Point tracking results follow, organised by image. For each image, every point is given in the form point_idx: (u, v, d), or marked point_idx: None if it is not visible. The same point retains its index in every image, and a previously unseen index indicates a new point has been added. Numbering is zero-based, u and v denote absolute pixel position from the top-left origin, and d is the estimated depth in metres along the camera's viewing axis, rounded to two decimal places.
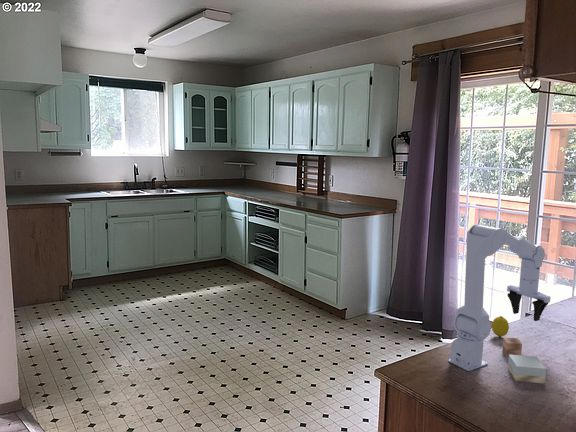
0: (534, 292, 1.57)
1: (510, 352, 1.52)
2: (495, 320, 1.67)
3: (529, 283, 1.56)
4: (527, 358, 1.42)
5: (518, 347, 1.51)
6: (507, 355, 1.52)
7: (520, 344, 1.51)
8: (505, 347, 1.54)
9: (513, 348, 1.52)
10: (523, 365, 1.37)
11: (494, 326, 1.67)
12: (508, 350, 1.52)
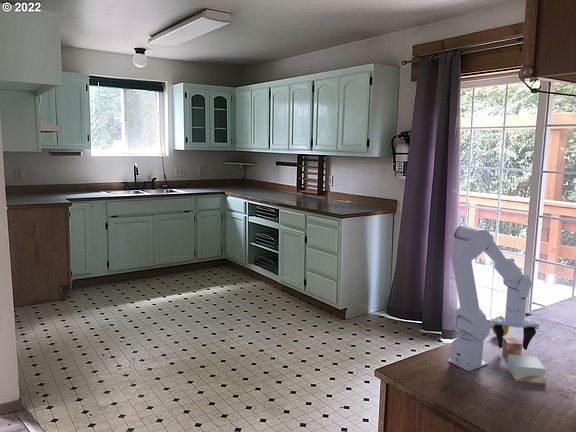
0: (505, 318, 1.54)
1: (510, 352, 1.52)
2: None
3: None
4: (526, 358, 1.42)
5: (518, 347, 1.51)
6: (507, 355, 1.52)
7: (520, 344, 1.51)
8: (505, 347, 1.54)
9: (513, 348, 1.52)
10: (522, 365, 1.37)
11: None
12: (508, 350, 1.52)
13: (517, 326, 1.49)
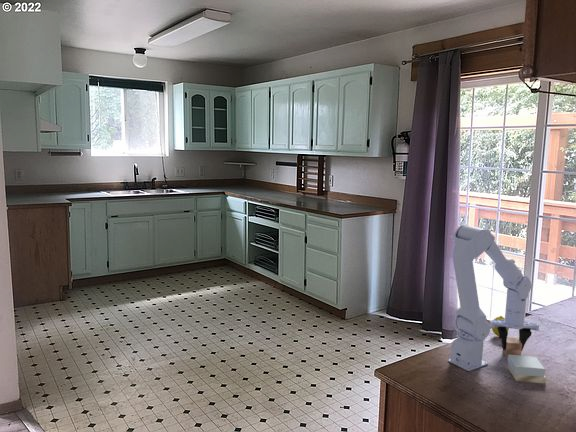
0: (504, 320, 1.54)
1: (510, 352, 1.52)
2: None
3: None
4: (526, 358, 1.42)
5: (518, 347, 1.51)
6: (507, 354, 1.52)
7: (520, 344, 1.51)
8: None
9: (513, 348, 1.52)
10: (522, 365, 1.38)
11: None
12: (508, 349, 1.52)
13: (517, 328, 1.49)
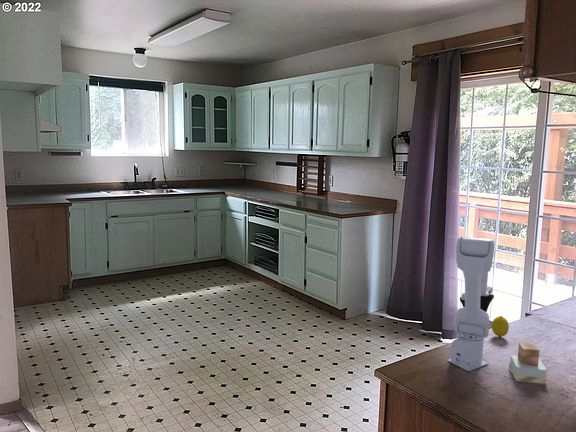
0: None
1: (526, 359, 1.37)
2: (495, 320, 1.67)
3: None
4: None
5: (535, 353, 1.37)
6: (522, 362, 1.38)
7: (537, 350, 1.36)
8: (520, 353, 1.39)
9: (529, 354, 1.37)
10: (524, 366, 1.37)
11: (494, 326, 1.67)
12: (523, 356, 1.38)
13: (487, 294, 1.55)
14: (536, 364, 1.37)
